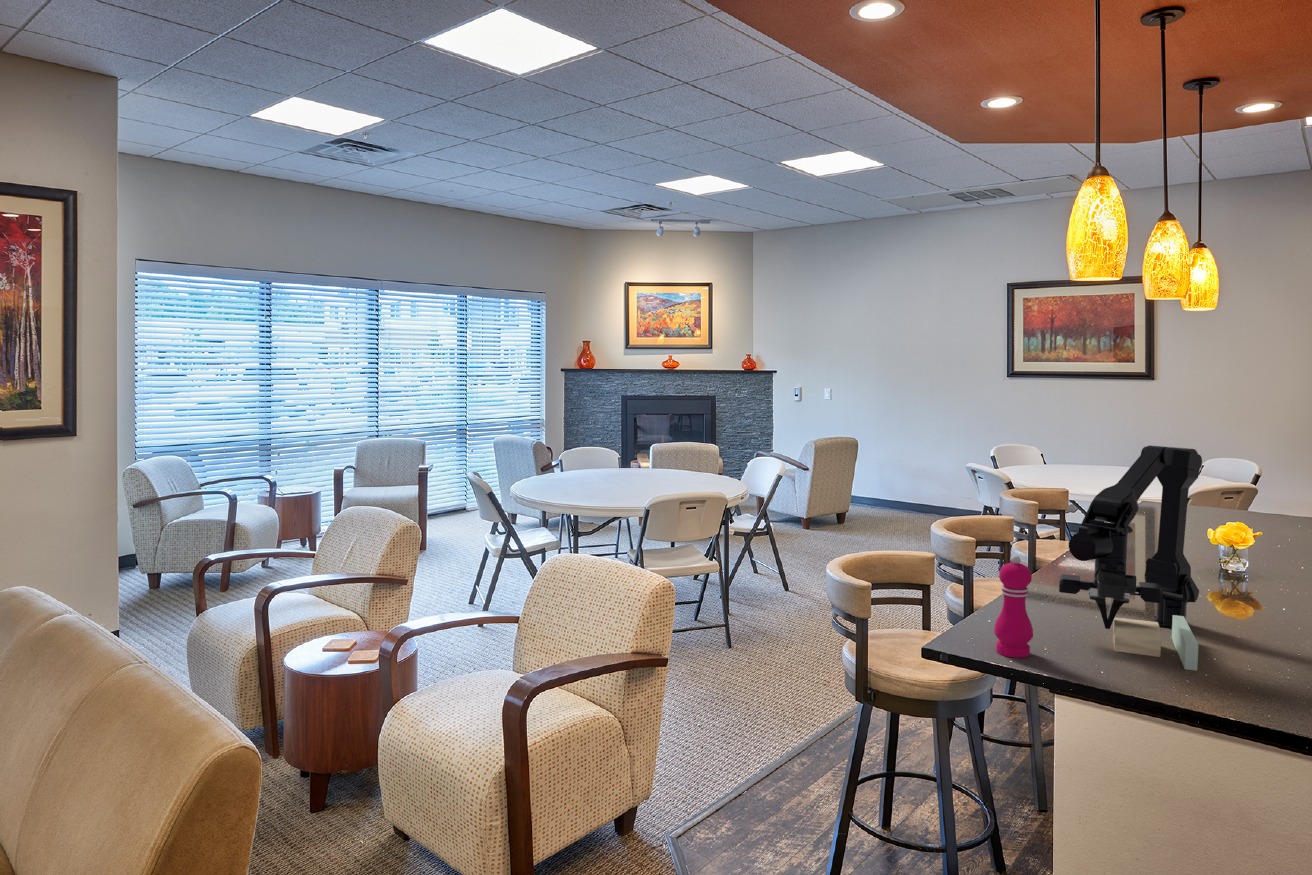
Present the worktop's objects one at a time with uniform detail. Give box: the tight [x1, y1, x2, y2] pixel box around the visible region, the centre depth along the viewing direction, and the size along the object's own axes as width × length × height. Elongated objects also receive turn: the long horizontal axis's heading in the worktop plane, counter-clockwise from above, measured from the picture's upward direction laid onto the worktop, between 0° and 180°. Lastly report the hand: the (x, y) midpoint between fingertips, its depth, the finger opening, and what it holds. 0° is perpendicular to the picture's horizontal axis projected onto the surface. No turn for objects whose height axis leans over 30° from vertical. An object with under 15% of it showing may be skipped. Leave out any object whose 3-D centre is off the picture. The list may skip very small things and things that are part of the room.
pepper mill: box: [993, 555, 1034, 659], centre depth 166 cm, size 7×7×20 cm
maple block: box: [1112, 616, 1162, 658], centre depth 169 cm, size 8×8×5 cm
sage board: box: [1171, 615, 1199, 672], centre depth 166 cm, size 20×2×5 cm, turn 154°
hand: (1107, 628), depth 172 cm, fingers closed
